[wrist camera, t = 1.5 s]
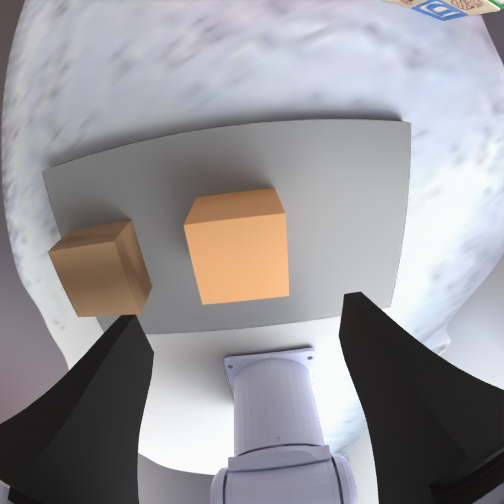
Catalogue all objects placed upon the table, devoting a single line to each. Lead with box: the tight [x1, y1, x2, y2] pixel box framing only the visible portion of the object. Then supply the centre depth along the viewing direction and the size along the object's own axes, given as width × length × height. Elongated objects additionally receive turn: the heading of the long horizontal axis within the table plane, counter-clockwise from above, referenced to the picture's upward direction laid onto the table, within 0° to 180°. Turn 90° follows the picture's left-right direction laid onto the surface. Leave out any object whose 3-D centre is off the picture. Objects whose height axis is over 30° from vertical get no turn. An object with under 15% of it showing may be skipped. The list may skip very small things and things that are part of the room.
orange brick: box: [184, 188, 289, 305], centre depth 15 cm, size 4×4×4 cm
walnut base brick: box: [48, 219, 153, 317], centre depth 16 cm, size 5×5×3 cm
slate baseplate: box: [42, 119, 411, 334], centre depth 18 cm, size 14×24×1 cm, turn 96°
